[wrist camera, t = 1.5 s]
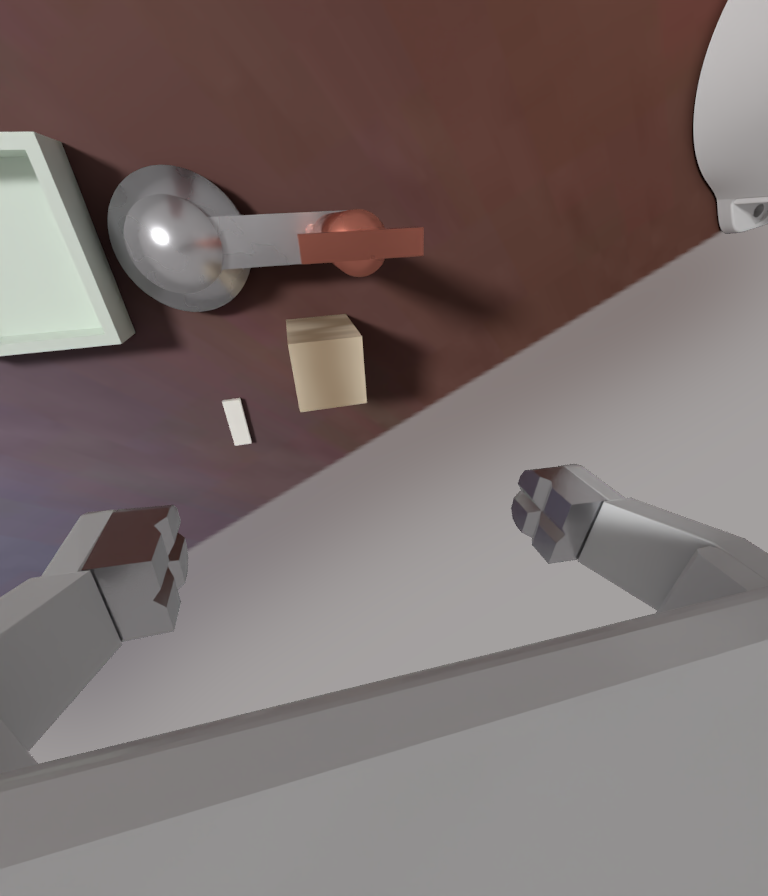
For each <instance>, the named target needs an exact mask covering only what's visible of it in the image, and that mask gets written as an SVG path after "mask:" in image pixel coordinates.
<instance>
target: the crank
mask: <svg viewBox="0 0 768 896" xmlns="http://www.w3.org/2000/svg"><path fill="white" fill-rule="evenodd" d="M423 236H424V227H407V228H390V229H385V228H384V226H383V224H382V222H381V221H380V220H379V219H378V218H377V217H376V216H375V215H374V214H373V213H371V212H369V211H366V210H362V209H354V210H344V211H323V212H302V213H281V214H260V215H239V216H217V217H211V216H210V215H209V214H208V213H207V212H206V211H205V210H204V209H203V208H201V207H200V206H199V205H197V204H195V203H194V202H192V201H189V200H187V199H184V198H181V197H177V196H173V195H168V194H154V195H150V196H146V197H144V198H142V199H140V200H139V201H137V202H136V203H135V204H134V205H133V206H132V207H131V209H130V210H129V212H128V214H127V216H126V219H125V223H124V240H125V245H126V248H127V251H128V253H129V256H130V258H131V259H132V261H133V263H134V264H135V266H136V267H137V268H138V270H139V271H140V272H141V273H142V274H143V275H144V276H145V277H146V278H147V279H148V280H150V281H151V282H152V283H154V284H155V285H157V286H159V287H161V288H163V289H165V290H168V291H171V292H175V293H182V294H189V293H195V292H199V291H201V290H203V289H205V288H207V287H208V286H209V285H211V284H212V283H213V282H214V281H215V280H216V279H217V278H218V277H219V275H220V274H221V272H222V270H224V269H238V268H252V267H266V266H279V265H293V264H316V263H330V262H331V263H333V264H334V265H335V266H337V267H338V268H339V269H341V270H342V271H343V272H345V273H346V274H348V275H351V276H354V277H364V276H368V275H370V274H372V273H374V272H375V271H377V270H378V269H379V268H380V266H381V265H382V264H383V262H384V260H385V258H399V257H413V256H423Z"/></svg>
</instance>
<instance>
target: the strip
mask: <svg viewBox="0 0 768 896" xmlns="http://www.w3.org/2000/svg"><path fill="white" fill-rule="evenodd" d="M222 403H223V407H224V410H225V413H226V417H227V420H228V424H229V427H230V430H231V434H232V437H233V440H234V444H235V446H236V445H243V444H249V443H252V440H251V436H250V433H249V429H248V425H247V421H246V418H245V414H244V410H243V406H242V403H241V399H240V398H236V399H228V400H223V401H222Z"/></svg>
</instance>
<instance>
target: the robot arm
mask: <svg viewBox="0 0 768 896" xmlns="http://www.w3.org/2000/svg"><path fill="white" fill-rule="evenodd" d="M693 136H694V147H695V154H696V158H697V162H698V165H699V168H700V170H701V173H702V175H703V177H704V179H705V180H706V182H707V183H708V185H709V186H710V187H711V189H712V190H713V192H714V194H715V196H716V199H717V209H718V219H719V225H720V228H721V230H722V232H724V233H726V234H730V233H740V232H744V231H748V230H751V229H754V228H757V227H760V226H763V225H766V224H768V0H728V1H727V3H726V6H725V8H724V10H723V12H722V14H721V16H720V19H719V21H718V23H717V26H716V28H715V31H714V33H713V36H712V38H711V41H710V44H709V47H708V50H707V53H706V56H705V59H704V63H703V66H702V70H701V74H700V78H699V83H698V88H697V93H696V100H695V107H694V121H693ZM518 485H519V487H520V489H521V491H520V492H519V493H518V494H517V495H516V496H515V497H514V500H513V504H512V508H511V509H512V516H513V520H514V522H515V524H516V526H517V527H518V529H519V530H520V531H521V532H522V533H524V534H526V535H528V536H530V537H531V538H532V545H533V546H534V547H535V549H536V550H537V551H538V552H539V553H540V555H541V556H542V557H543V558H544V559H545V560H546V562H547V563H548V564H550V563H556V562H564V561H571V560H577V559H578V562H580V563H581V564H583V565H585V566H586V567H588V568H590V569H591V570H593V571H594V572H596V573H598V574H599V575H601V576H602V577H604V578H606V579H607V580H609V581H610V582H612V583H614V584H615V585H617V586H619V587H620V588H622V589H623V590H625V591H627V592H628V593H630V594H631V595H633V596H635V597H636V598H638V599H640V600H641V601H643V602H645V603H646V604H648V605H649V606H651V607H652V608H654V609H656V610H657V612H656V613H655V614H652V615H647V616H643V617H639V618H635V619H631V620H627V621H623V622H619V623H615V624H610V625H606V626H602V627H598V628H594V629H590V630H586V631H582V632H578V633H574V634H570V635H566V636H562V637H557V638H554V639H549V640H545V641H541V642H537V643H533V644H529V645H525V646H521V647H517V648H513V649H509V650H504V651H501V652H496V653H492V654H489V655H484V656H480V657H476V658H472V659H468V660H464V661H459V662H455V663H452V664H447V665H443V666H439V667H435V668H431V669H427V670H422V671H418V672H414V673H410V674H406V675H402V676H398V677H393V678H389V679H386V680H381V681H377V682H373V683H369V684H365V685H360V686H357V687H353V688H348V689H344V690H340V691H336V692H332V693H328V694H324V695H320V696H315V697H311V698H307V699H303V700H300V701H295V702H291V703H287V704H283V705H278V706H275V707H270V708H266V709H262V710H258V711H254V712H250V713H246V714H241V715H237V716H233V717H229V718H225V719H221V720H217V721H213V722H209V723H205V724H200V725H196V726H193V727H188V728H184V729H180V730H176V731H172V732H168V733H164V734H160V735H155V736H152V737H148V738H143V739H139V740H135V741H131V742H127V743H123V744H118V745H115V746H110V747H106V748H102V749H98V750H94V751H90V752H86V753H81V754H77V755H73V756H70V757H65V758H61V759H57V760H53V761H49V762H45V763H41V764H38V763H37V762H36V761H35V760H34V758H33V757H32V756H31V755H30V754H29V752H28V751H29V750H30V749H31V748H32V747H33V746H34V744H35V743H36V742H37V741H38V740H39V739H40V738H41V737H42V735H43V734H44V733H45V732H46V731H47V730H48V729H49V727H50V726H51V725H52V724H53V723H54V722H55V721H56V720H57V718H58V717H59V716H60V715H61V714H62V713H63V712H64V710H65V709H66V708H67V707H68V706H69V705H70V704H71V702H72V701H73V700H74V699H75V698H76V697H77V696H78V694H79V693H80V692H81V691H82V690H83V689H84V688H85V687H86V685H87V684H88V683H89V682H90V681H91V680H92V678H93V677H94V676H95V675H96V674H97V673H98V672H99V671H100V669H101V668H102V667H103V666H104V665H105V664H106V663H107V661H108V660H109V659H110V658H111V657H112V656H113V655H114V653H115V652H116V651H117V650H118V649H119V648H120V647H121V646H122V642H124V641H129V640H133V639H139V638H144V637H148V636H153V635H158V634H163V633H168V632H173V631H174V629H175V625H176V620H177V616H178V612H179V608H180V603H181V600H180V597H179V593H178V589H180V588H181V587H182V586H183V585H184V584H185V581H186V576H187V571H188V552H187V545H186V541H185V538H184V537H183V536H182V535H180V534H179V533H177V532H178V529H179V525H180V522H181V521H180V517H179V514H178V510H177V508H176V507H175V506H174V505H167V506H155V507H142V508H130V509H118V510H107V511H97V512H88V513H86V514H84V515H82V516H81V517H80V518H79V519H78V521H77V522H76V524H75V525H74V527H73V528H72V530H71V532H70V533H69V535H68V536H67V538H66V539H65V541H64V542H63V544H62V545H61V547H60V548H59V550H58V551H57V553H56V554H55V556H54V557H53V559H52V561H51V562H50V564H49V565H48V567H47V568H46V570H45V571H44V573H43V574H42V576H41V577H36V578H30V579H28V580H27V581H25V582H24V583H22V584H21V585H19V586H17V587H16V588H14V589H13V590H11V591H10V592H8V593H6V594H5V595H3V596H2V597H0V896H768V553H766V552H765V551H763V550H762V549H760V548H759V547H757V546H755V545H754V544H752V543H751V542H749V541H748V540H746V539H745V538H742V537H739V536H736V535H733V534H730V533H728V532H725V531H722V530H720V529H716V528H714V527H711V526H708V525H706V524H703V523H700V522H697V521H694V520H692V519H688V518H686V517H683V516H680V515H678V514H675V513H672V512H669V511H667V510H664V509H661V508H658V507H655V506H653V505H650V504H647V503H644V502H641V501H639V500H636V499H633V498H625V497H623V496H622V495H621V494H619V493H618V492H617V491H615V490H614V489H613V488H611V487H610V486H608V485H607V484H606V483H605V482H603V481H602V480H600V479H599V478H597V477H596V476H595V475H594V474H592V473H591V472H590V471H588V470H587V469H585V468H584V467H583V466H581V465H577V464H570V465H563V466H558V467H551V468H542V469H533V470H525V471H524V472H523V473H522V475H521V476H520V479H519V482H518Z"/></svg>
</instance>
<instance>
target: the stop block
mask: <svg viewBox="0 0 768 896" xmlns="http://www.w3.org/2000/svg"><path fill="white" fill-rule="evenodd" d="M286 326H287V338H288V347H289V353H290V358H291V364H292V370H293V375H294V381H295V386H296V392H297V397H298V403H299V408H300V412H306V411H313V410H320V409H327V408H334V407H341V406H348V405H355V404H362V403H367V397H366V383H365V370H364V356H363V343H362V336H361V334H360V333H359V332H358V330H357V329H356V327H355V326H354V325H353V323H352V322H351V321H350V319H349V318H348V317H347V315H346V314H340V315H330V316H320V317H310V318H299V319H289V320H286Z"/></svg>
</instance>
